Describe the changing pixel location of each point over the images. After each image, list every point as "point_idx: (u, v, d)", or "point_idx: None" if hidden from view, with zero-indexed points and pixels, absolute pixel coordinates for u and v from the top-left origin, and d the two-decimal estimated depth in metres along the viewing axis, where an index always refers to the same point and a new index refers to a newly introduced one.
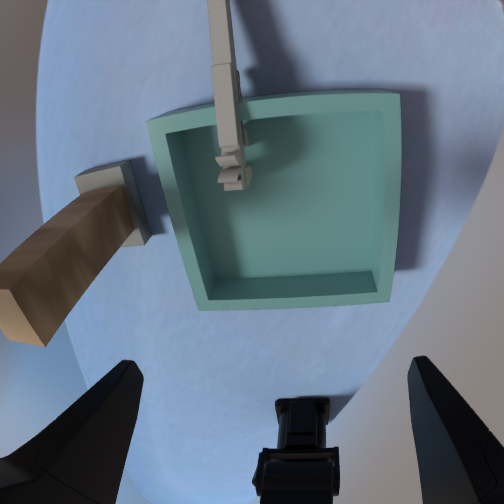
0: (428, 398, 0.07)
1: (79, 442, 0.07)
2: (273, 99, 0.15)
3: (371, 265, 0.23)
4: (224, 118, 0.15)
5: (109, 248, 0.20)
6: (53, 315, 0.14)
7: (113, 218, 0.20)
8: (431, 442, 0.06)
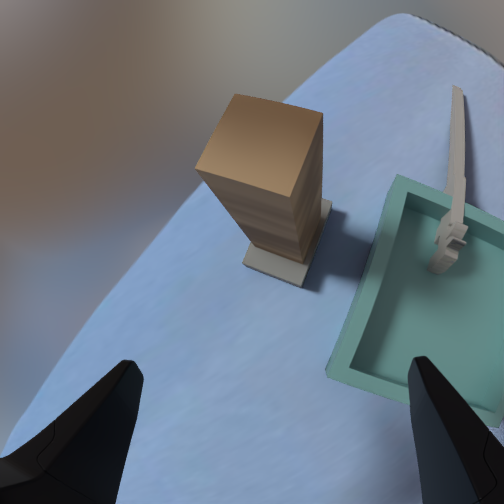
0: (428, 398, 0.07)
1: (79, 442, 0.07)
2: (484, 212, 0.18)
3: (482, 399, 0.17)
4: (457, 206, 0.18)
5: (304, 243, 0.18)
6: (299, 196, 0.12)
7: (312, 229, 0.20)
8: (431, 442, 0.06)
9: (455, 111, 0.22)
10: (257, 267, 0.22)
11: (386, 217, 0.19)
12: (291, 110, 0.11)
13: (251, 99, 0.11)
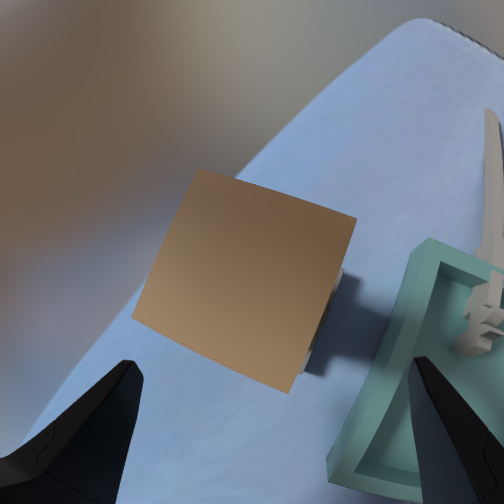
0: (428, 398, 0.07)
1: (79, 442, 0.07)
2: None
3: None
4: (496, 280, 0.14)
5: None
6: None
7: None
8: (431, 442, 0.06)
9: (491, 144, 0.17)
10: None
11: (412, 297, 0.15)
12: (298, 211, 0.06)
13: (226, 182, 0.07)
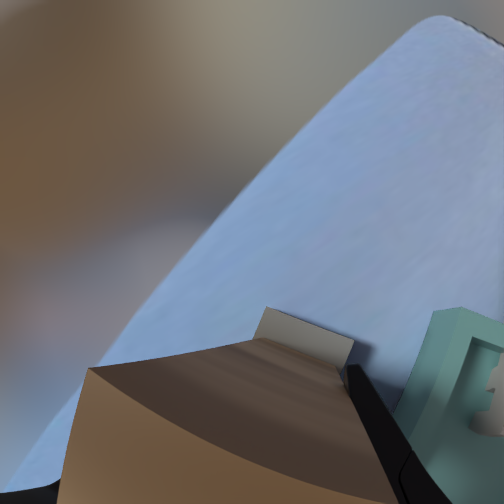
0: None
1: None
2: None
3: None
4: None
5: None
6: None
7: None
8: None
9: None
10: None
11: (436, 382, 0.11)
12: (284, 497, 0.02)
13: (139, 415, 0.03)
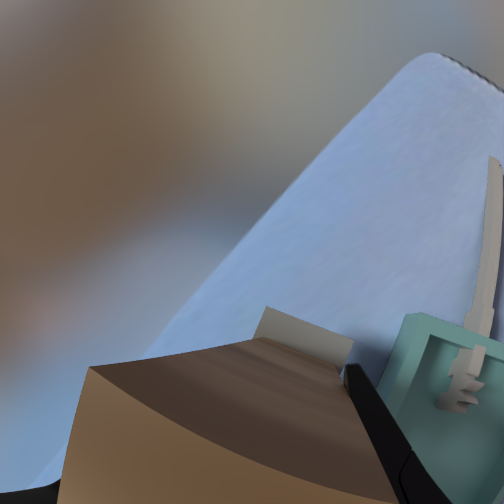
0: None
1: None
2: None
3: (471, 503, 0.14)
4: (478, 351, 0.15)
5: None
6: None
7: None
8: None
9: (493, 204, 0.18)
10: None
11: (402, 367, 0.16)
12: (285, 496, 0.02)
13: (140, 414, 0.03)
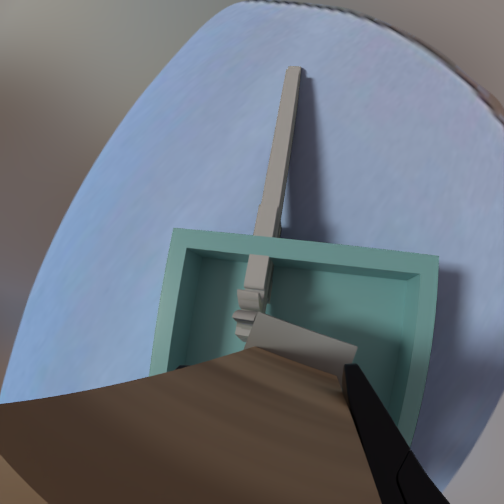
0: (349, 408, 0.07)
1: None
2: (309, 242, 0.16)
3: None
4: (257, 257, 0.16)
5: None
6: None
7: None
8: None
9: (280, 105, 0.20)
10: None
11: (163, 288, 0.16)
12: None
13: (18, 485, 0.01)
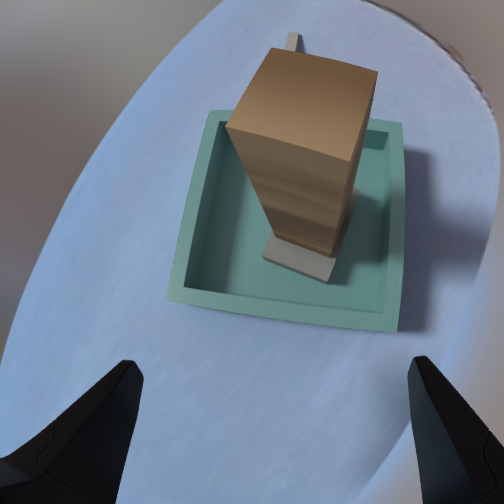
0: (428, 398, 0.07)
1: (79, 442, 0.07)
2: None
3: (375, 306, 0.19)
4: None
5: (337, 232, 0.16)
6: (351, 166, 0.09)
7: (343, 217, 0.17)
8: (431, 442, 0.06)
9: None
10: (278, 260, 0.20)
11: (200, 147, 0.22)
12: (340, 66, 0.08)
13: (292, 53, 0.09)
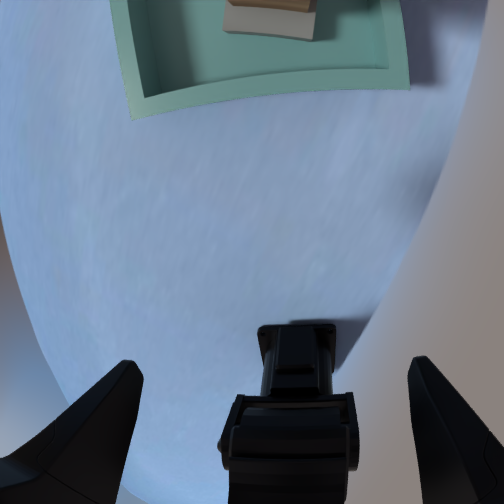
0: (428, 398, 0.07)
1: (79, 442, 0.07)
2: None
3: (374, 59, 0.14)
4: None
5: None
6: None
7: None
8: (431, 442, 0.06)
9: None
10: (245, 29, 0.13)
11: None
12: None
13: None
